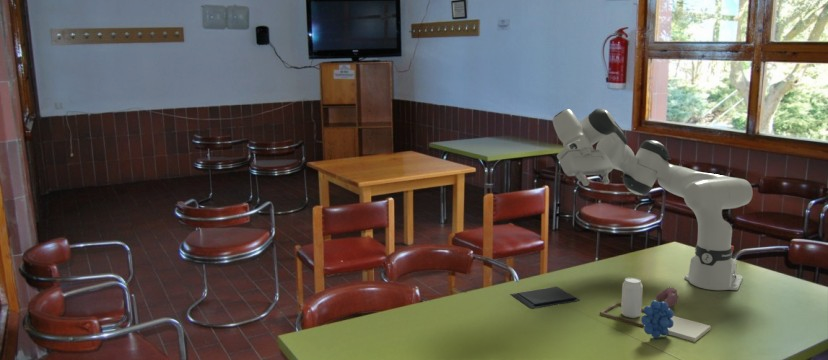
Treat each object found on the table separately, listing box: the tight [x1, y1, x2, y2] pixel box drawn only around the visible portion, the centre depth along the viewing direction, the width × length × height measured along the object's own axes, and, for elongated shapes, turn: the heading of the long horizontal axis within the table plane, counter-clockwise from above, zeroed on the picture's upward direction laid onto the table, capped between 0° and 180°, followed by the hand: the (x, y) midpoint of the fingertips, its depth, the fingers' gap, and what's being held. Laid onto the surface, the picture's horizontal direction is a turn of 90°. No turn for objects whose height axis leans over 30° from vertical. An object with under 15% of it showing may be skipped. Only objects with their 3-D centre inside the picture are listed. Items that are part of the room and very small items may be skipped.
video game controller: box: [655, 286, 679, 309], centre depth 231 cm, size 10×5×7 cm, turn 169°
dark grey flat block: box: [509, 286, 581, 310], centre depth 239 cm, size 20×2×15 cm
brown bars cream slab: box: [599, 301, 712, 343], centre depth 218 cm, size 12×31×1 cm, turn 47°
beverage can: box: [620, 277, 644, 319], centre depth 222 cm, size 6×6×12 cm
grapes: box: [640, 299, 675, 339], centre depth 204 cm, size 12×7×12 cm, turn 112°
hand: (597, 184), depth 232 cm, fingers open, 8 cm apart
